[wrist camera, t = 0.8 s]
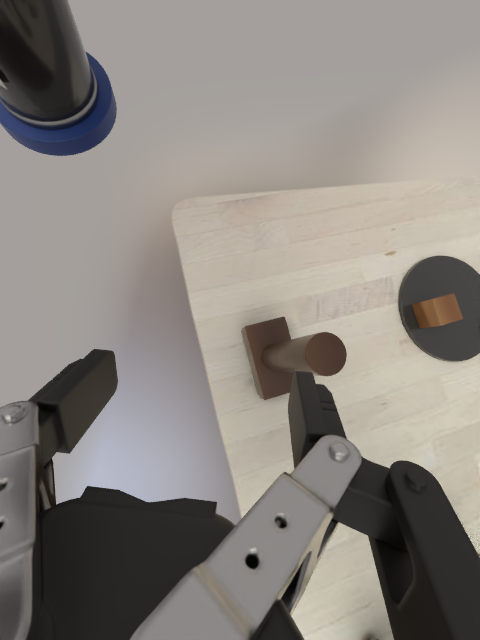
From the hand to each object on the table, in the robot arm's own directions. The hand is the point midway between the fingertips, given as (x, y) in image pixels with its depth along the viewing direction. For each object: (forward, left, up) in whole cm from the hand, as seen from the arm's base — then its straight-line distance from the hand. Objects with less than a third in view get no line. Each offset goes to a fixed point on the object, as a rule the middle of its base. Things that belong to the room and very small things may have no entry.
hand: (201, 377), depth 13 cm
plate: (+7, +30, -17) cm, 35 cm away
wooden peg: (+2, +7, -17) cm, 19 cm away
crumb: (+7, +27, -17) cm, 32 cm away
